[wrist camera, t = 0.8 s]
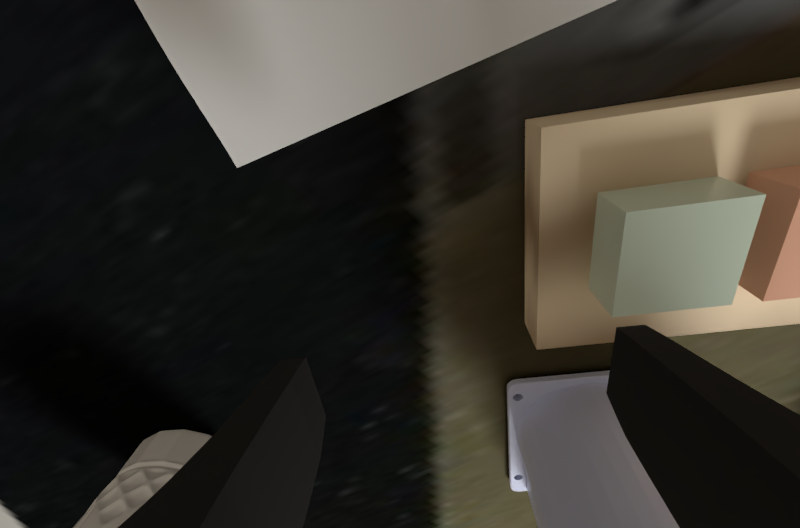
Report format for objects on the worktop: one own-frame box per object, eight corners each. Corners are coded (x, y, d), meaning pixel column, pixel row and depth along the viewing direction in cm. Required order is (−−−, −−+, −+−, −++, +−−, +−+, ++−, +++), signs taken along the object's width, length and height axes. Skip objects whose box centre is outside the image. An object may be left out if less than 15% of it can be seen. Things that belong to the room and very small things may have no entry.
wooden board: (812, 291, 17) (857, 317, 16) (524, 322, 19) (536, 350, 17) (911, 59, 13) (989, 59, 11) (525, 119, 14) (541, 127, 12)
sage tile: (693, 275, 15) (731, 304, 13) (588, 287, 15) (611, 317, 13) (718, 176, 13) (766, 194, 11) (597, 192, 13) (626, 212, 12)
